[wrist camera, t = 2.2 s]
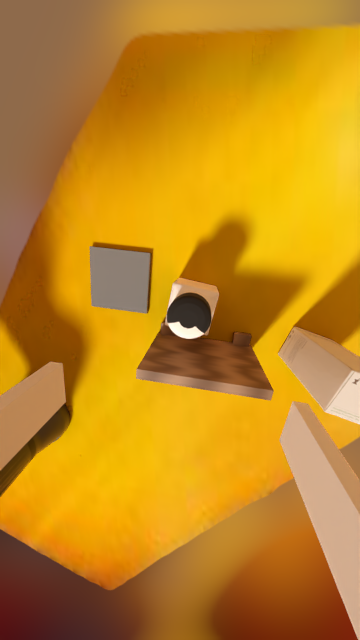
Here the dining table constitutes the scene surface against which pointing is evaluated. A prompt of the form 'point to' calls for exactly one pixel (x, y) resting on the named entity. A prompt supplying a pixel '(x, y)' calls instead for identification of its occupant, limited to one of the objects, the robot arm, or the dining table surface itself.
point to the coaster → (120, 279)
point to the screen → (205, 364)
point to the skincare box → (325, 372)
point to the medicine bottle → (191, 308)
